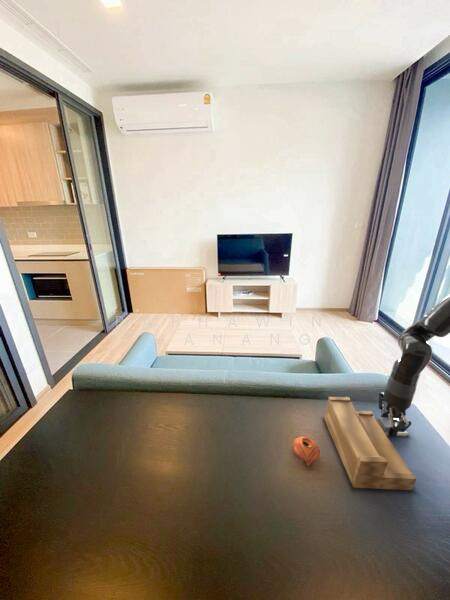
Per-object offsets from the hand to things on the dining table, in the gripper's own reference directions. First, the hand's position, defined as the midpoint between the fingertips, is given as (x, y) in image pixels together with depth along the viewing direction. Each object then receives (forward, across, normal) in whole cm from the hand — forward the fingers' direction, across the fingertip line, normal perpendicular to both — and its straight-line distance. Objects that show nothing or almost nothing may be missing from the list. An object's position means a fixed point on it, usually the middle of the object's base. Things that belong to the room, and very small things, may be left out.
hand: (387, 428), depth 85 cm
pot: (+1, -11, +32) cm, 33 cm away
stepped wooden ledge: (0, -8, +14) cm, 16 cm away
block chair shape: (0, 0, -2) cm, 2 cm away
